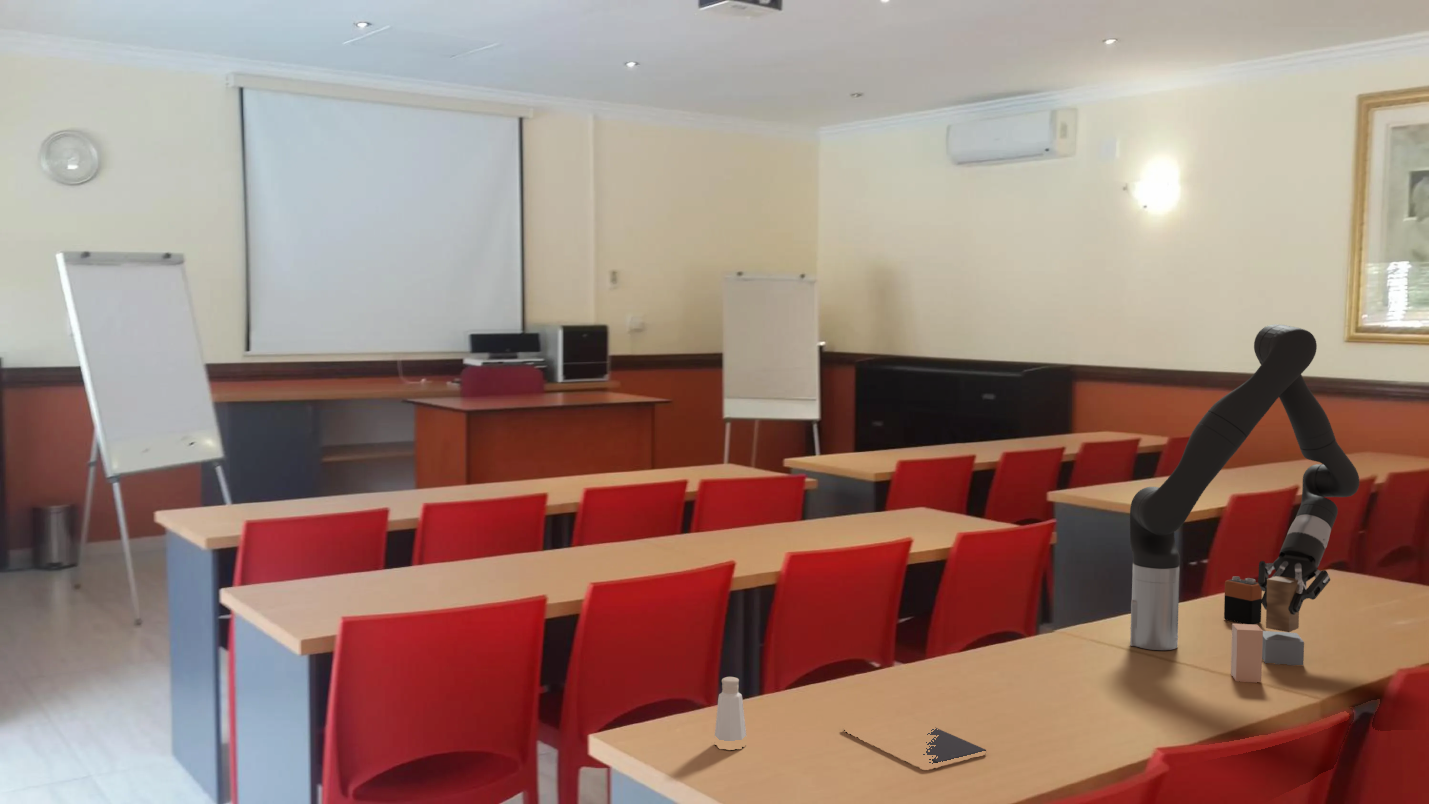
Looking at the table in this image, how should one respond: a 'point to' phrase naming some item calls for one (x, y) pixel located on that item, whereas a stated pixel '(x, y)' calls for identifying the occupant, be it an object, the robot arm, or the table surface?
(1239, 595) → the battery
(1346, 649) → the table surface
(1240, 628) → the pale pink block
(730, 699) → the pepper shaker
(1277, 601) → the walnut block
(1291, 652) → the slate gray block
